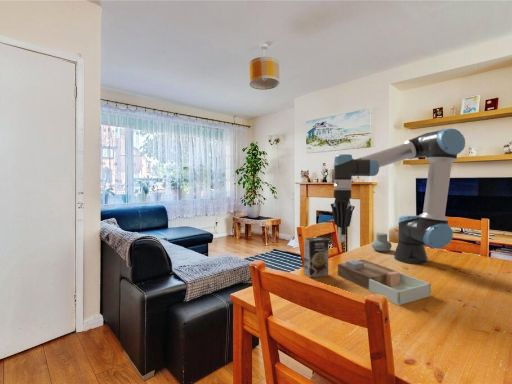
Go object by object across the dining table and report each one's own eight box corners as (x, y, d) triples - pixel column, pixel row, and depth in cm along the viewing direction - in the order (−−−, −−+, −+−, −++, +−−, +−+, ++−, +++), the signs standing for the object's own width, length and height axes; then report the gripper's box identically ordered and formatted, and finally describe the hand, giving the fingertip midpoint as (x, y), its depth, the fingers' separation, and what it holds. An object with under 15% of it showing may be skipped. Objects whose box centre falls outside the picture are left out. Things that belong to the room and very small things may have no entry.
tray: (398, 283, 111) (399, 272, 110) (430, 296, 99) (430, 283, 99) (368, 290, 104) (368, 279, 104) (398, 305, 92) (399, 292, 92)
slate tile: (354, 264, 120) (355, 259, 120) (363, 267, 115) (363, 263, 115) (346, 265, 118) (346, 261, 118) (354, 269, 113) (354, 264, 113)
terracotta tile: (395, 271, 109) (399, 272, 107) (395, 283, 109) (399, 285, 108) (386, 273, 107) (390, 274, 105) (386, 285, 107) (390, 287, 106)
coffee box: (310, 278, 118) (310, 241, 117) (303, 272, 124) (303, 237, 123) (328, 275, 120) (329, 239, 119) (321, 270, 126) (321, 236, 125)
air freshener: (378, 247, 166) (379, 231, 166) (392, 250, 160) (393, 233, 159) (369, 250, 159) (370, 233, 159) (384, 253, 153) (384, 236, 152)
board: (363, 270, 127) (363, 259, 127) (397, 283, 110) (397, 271, 110) (337, 275, 121) (337, 264, 120) (370, 290, 104) (370, 277, 104)
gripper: (326, 188, 126) (325, 239, 128) (346, 190, 114) (345, 245, 116) (338, 188, 129) (337, 237, 131) (359, 189, 117) (358, 243, 119)
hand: (341, 241), depth 123 cm, fingers closed
